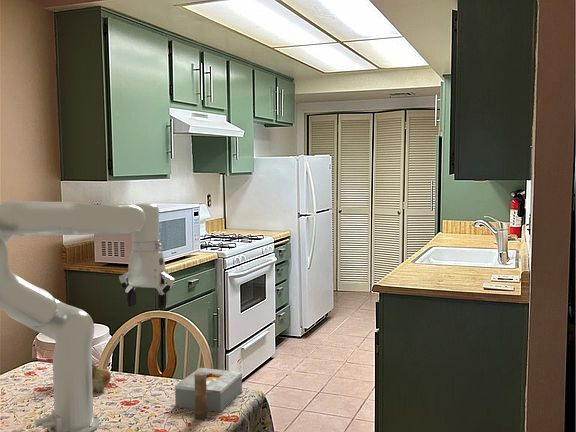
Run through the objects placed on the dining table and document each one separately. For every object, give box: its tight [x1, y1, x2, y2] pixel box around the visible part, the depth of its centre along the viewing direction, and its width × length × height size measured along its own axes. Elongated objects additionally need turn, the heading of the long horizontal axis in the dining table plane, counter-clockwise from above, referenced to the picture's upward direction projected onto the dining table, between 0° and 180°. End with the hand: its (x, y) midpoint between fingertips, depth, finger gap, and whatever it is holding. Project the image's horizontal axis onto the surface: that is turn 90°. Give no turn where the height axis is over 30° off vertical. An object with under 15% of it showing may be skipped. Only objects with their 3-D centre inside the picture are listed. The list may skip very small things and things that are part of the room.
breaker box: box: [174, 367, 243, 413], centre depth 172 cm, size 16×14×6 cm
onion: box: [92, 364, 112, 393], centre depth 179 cm, size 8×8×8 cm
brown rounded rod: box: [194, 372, 208, 421], centre depth 159 cm, size 3×3×12 cm
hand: (147, 306), depth 167 cm, fingers open, 9 cm apart
